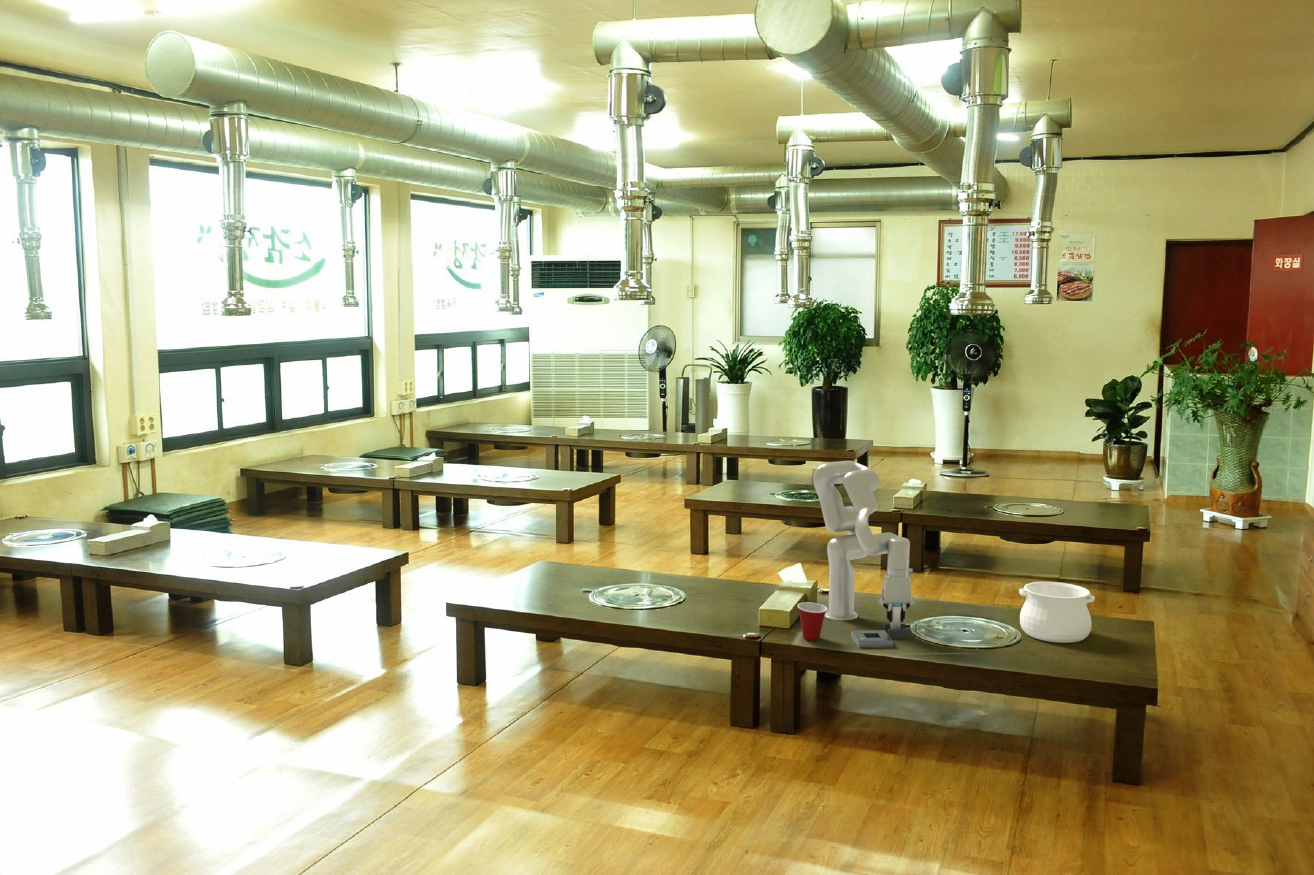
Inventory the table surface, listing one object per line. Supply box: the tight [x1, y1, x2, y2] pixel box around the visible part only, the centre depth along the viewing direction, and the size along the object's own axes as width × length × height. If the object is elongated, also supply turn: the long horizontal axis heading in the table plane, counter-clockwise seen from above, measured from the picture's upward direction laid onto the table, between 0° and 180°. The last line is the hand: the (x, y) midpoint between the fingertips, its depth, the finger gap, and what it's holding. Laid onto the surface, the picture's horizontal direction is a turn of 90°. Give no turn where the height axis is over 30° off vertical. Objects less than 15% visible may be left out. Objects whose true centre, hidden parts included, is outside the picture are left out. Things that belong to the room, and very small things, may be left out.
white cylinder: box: [889, 603, 902, 629], centre depth 378 cm, size 4×4×11 cm
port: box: [850, 629, 894, 649], centre depth 370 cm, size 12×12×3 cm
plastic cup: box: [797, 601, 829, 642], centre depth 376 cm, size 11×11×12 cm
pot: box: [1018, 581, 1096, 644], centre depth 380 cm, size 26×24×17 cm
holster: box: [882, 623, 912, 639], centre depth 378 cm, size 8×8×4 cm
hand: (895, 620), depth 379 cm, fingers closed on white cylinder, 3 cm apart
